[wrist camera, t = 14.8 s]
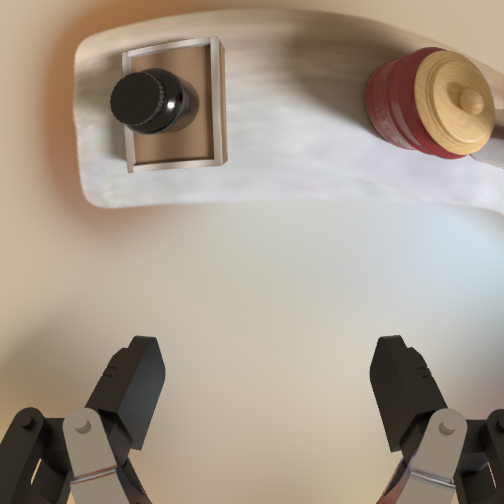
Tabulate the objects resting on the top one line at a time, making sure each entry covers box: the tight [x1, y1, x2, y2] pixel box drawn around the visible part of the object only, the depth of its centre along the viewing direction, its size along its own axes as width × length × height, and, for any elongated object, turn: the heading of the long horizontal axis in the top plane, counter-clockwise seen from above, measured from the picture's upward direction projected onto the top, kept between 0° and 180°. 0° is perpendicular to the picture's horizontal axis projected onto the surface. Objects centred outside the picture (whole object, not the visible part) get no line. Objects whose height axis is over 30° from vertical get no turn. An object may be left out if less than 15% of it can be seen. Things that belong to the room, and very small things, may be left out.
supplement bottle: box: [110, 68, 200, 135], centre depth 26 cm, size 7×7×12 cm
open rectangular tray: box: [122, 36, 228, 173], centre depth 33 cm, size 12×16×6 cm
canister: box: [365, 47, 495, 159], centre depth 26 cm, size 13×13×18 cm
